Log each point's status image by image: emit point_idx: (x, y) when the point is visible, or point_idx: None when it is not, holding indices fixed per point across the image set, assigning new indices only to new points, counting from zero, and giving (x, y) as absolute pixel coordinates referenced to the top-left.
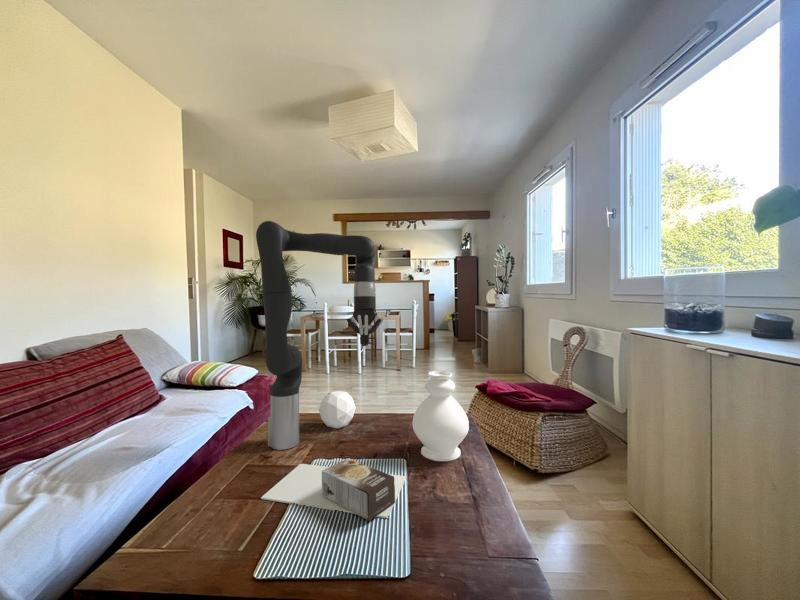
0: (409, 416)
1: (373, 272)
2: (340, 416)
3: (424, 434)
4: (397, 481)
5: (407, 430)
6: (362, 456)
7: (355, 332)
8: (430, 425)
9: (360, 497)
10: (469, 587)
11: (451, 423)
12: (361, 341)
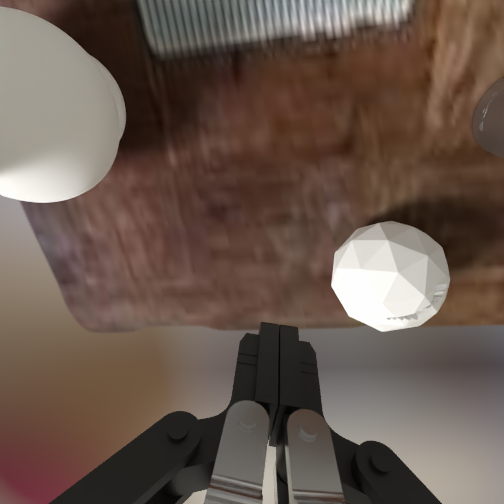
0: (201, 315)
1: None
2: (369, 229)
3: (54, 26)
4: None
5: (188, 233)
6: (270, 52)
7: (389, 450)
8: (10, 15)
9: None
10: None
11: None
12: (305, 360)
